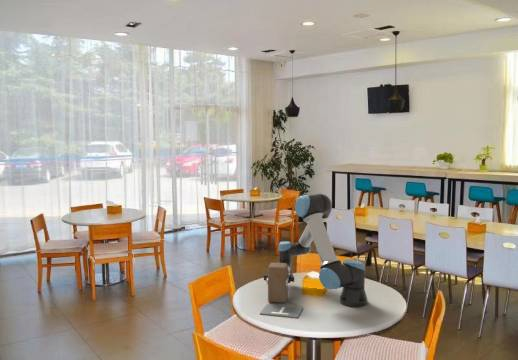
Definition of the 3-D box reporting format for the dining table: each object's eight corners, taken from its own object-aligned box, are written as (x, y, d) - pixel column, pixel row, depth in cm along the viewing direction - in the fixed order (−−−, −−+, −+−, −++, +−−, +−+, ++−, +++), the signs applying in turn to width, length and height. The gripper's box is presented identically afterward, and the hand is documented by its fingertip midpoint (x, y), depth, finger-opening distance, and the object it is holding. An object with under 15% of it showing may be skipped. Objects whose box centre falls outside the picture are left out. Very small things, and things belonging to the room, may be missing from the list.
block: (285, 303, 258) (285, 267, 256) (267, 302, 260) (267, 266, 258) (287, 297, 268) (287, 262, 266) (270, 296, 270) (270, 262, 268)
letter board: (303, 308, 251) (303, 307, 251) (297, 318, 238) (297, 317, 237) (266, 305, 256) (266, 303, 256) (259, 314, 243) (259, 313, 243)
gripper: (301, 278, 279) (297, 290, 257) (264, 276, 283) (256, 288, 261) (301, 266, 278) (297, 277, 256) (263, 264, 282) (256, 275, 261)
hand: (276, 282), depth 259 cm, fingers closed on block, 10 cm apart
